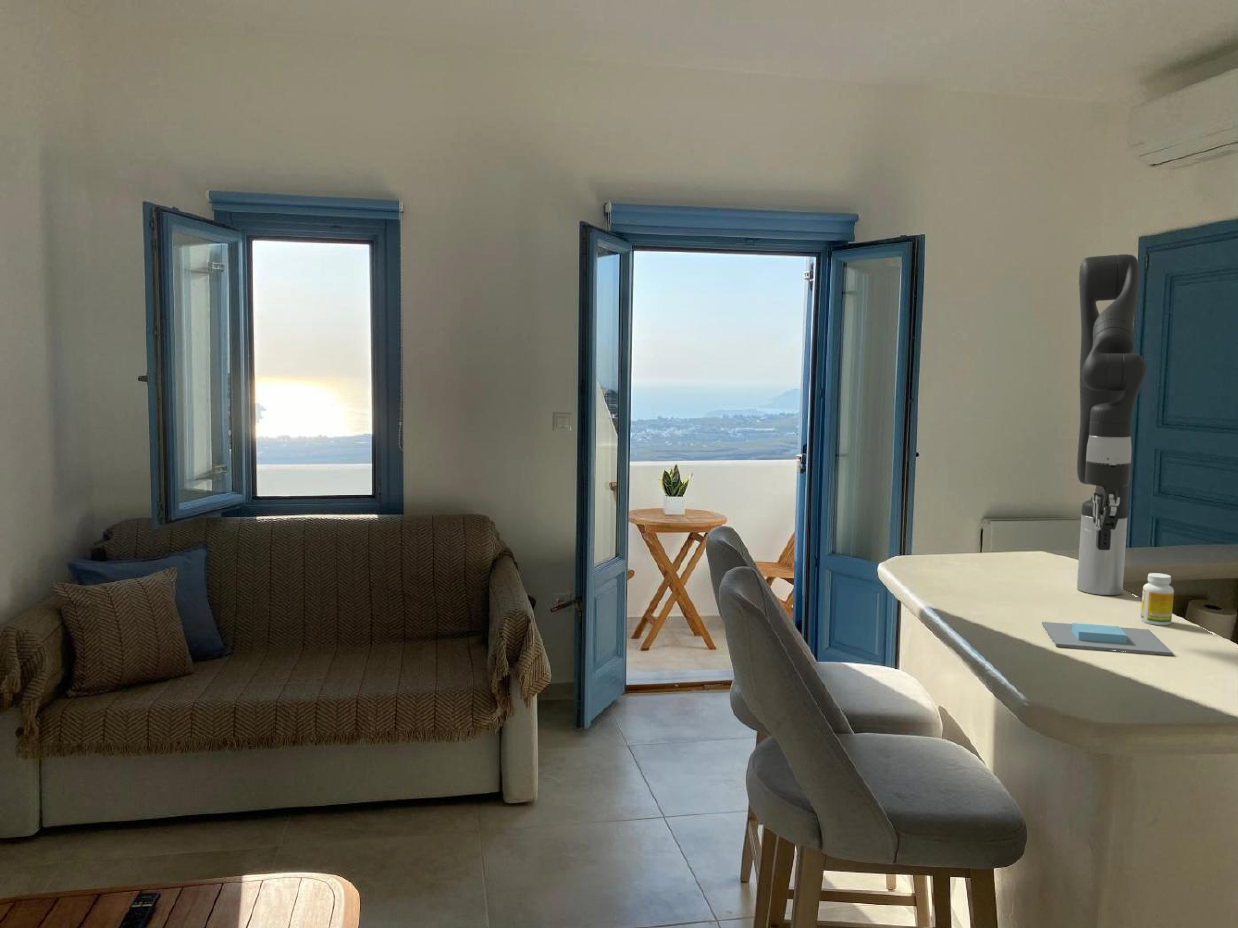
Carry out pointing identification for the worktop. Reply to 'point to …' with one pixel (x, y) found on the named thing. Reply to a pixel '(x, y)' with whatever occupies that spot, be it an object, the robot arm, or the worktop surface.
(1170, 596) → the supplement bottle
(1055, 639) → the mat
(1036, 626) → the worktop surface
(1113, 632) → the block
